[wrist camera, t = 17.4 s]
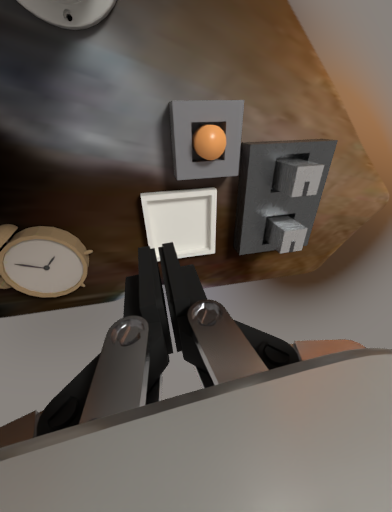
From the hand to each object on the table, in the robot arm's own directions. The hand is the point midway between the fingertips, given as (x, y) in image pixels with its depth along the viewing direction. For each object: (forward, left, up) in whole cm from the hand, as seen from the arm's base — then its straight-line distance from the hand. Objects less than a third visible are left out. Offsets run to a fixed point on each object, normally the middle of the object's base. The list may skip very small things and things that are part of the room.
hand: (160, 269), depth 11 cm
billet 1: (+1, +22, -24) cm, 33 cm away
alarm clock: (+11, -18, -25) cm, 33 cm away
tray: (+9, +5, -25) cm, 27 cm away
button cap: (-4, +9, -23) cm, 25 cm away
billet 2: (+11, +22, -24) cm, 34 cm away
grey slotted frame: (+6, +22, -25) cm, 34 cm away
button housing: (-4, +9, -25) cm, 27 cm away
